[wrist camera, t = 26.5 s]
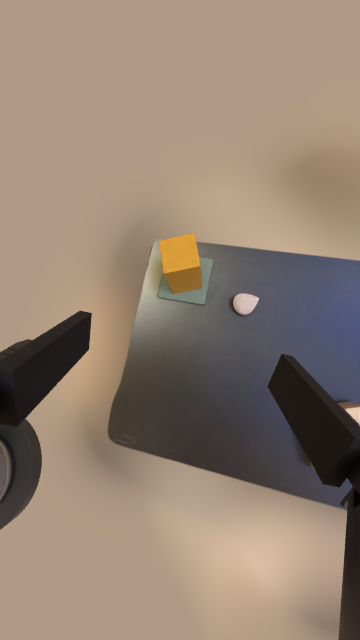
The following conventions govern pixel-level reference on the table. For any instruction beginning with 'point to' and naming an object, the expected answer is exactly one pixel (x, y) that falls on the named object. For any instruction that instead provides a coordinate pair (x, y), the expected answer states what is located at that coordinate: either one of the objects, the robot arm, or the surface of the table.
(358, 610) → the robot arm
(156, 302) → the table surface
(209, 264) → the coaster
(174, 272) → the yellow block
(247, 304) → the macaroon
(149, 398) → the table surface
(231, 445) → the table surface
